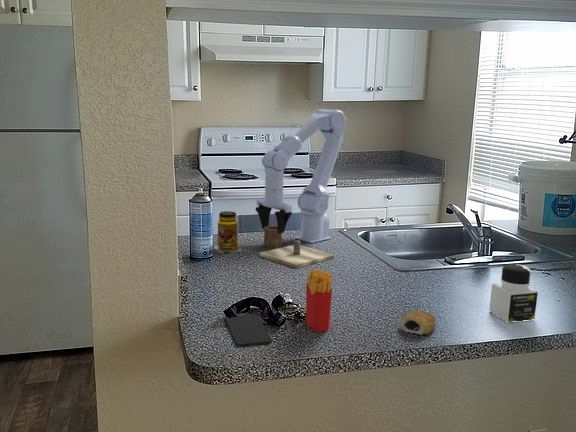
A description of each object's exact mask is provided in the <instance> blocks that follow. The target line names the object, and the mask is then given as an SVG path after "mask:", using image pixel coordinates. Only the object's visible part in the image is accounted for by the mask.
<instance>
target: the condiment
mask: <svg viewBox="0 0 576 432" xmlns="http://www.w3.org/2000/svg"><path fill="white" fill-rule="evenodd" d="M218 217H219V218H218V219H219V220H218V222H217V245H215V246H214V248H213V249H214V250H215V251H217V249H218V248H219V249H218V250H219V251H221V252H229V253H228V254H230V253H237V252H243V251H244V250H242V249H241V248H239V247H238V220H237V213H236V212H235V211H230V210H229V211H220V212H219V215H218Z"/></svg>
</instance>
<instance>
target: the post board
mask: <svg viewBox="0 0 576 432" xmlns="http://www.w3.org/2000/svg"><path fill="white" fill-rule="evenodd" d="M258 255H259V257H262V258H264V259H267V260H271V261H274V262H275V263H276V262H277V263H279V264H283V265H285V266H288V267H291V268H295V269H298V268H299V269H300V268H302V267H306V266H311V265H314V264H318V263H321V262H325V261H328V260H329V261H330V260H333V259H335V255H334V254H333V253H332V254H331V253H328V252H325V251H321V250H317V249H315V248H311V247H308V246H304V245H301V240H299V239H296V240H293V244H292V245H291V244H290V245H287V246H284V247H282V246H281V247H279V248H272V249H269V250H266V251H261V252H259V254H258Z"/></svg>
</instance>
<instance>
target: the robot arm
mask: <svg viewBox="0 0 576 432" xmlns="http://www.w3.org/2000/svg"><path fill="white" fill-rule="evenodd" d="M347 121H348V120H347V118H346V116H345V114H344V111H342V110H340V109H336V110H335V109H324V108H319V109H317V110H316V111H315V112H314V113H313V114H311V117H310V119H309V120H308V121H306V123H305V124H304V125H303V126H302V127H300V129H299V130H298V131H297V132H296V133H295V134H294V135H291V134H289V135H286V136H284V137H283V140H282V141H281V142H280V143H279V144H278V145H275V146H274V148H273V149H272V150H268V151H267V152H264V153H265V154H264V155H263V158H261V164H262V166H263V167H264V172H265V174H264V175H265V177H264V180H265V181H264V183H265V184H264V199H263V198H258V199H256V207H255V211H256V213H257V215H258V217H259V221H260V225H261V229H262V230H264V228H265V227H266V226H270V224H269V223H270V215H271V211H272V209H274V210H277V211H274V215H275V217H276V221H277V222H276V223H277V224H276V226H277V230H278V233H282V234H284V233H285V230H286V227H287V223H288V221H289V219H290V218H291V216H292V213H293V212H292V210H293V209H292V205H289V204H288V203H285V202H283V200H284V175H285V174H284V169H286V168H287V166H288V165H289V164H288V163H289V161H290V160H291V159H292V157H294V156H295V155H296V154H297V153H298V152H299V151H300V150H301V149H302V144H303V143H304V142H305V141H307V140H308V139H309V138H310V137H311V136H313V135H314V134H316V132H317V131H318V132H320V133H321V135H323V137H324V139H325V141H324V144H323V147H322V149H321V153H320V155H319V158H318V161H317V164H316V167H315V170H314V172H313V176H312V178H311V181H310V183H309V184H308V185H306V186H305V187H304V188H303V190H302V193H300V195H299V196H298V198H297V206H298V209H300V213H301V223H300V225H301V226H300V227H301V230H300V232H301V233H300V235H299V236H295V239H296V240H299V241H302V242H303V241H304V242H307V243H310V244H312V243H313V244H314V243H318V242H322V241H323V242H324V241H325V240H326V241H327V240H331V237H330V218H329V215H328V214H327V213H326V212H327V210H328V208H329V199H330V193H329V192H328V190H327V187H328V184H329V181H330V179H331V175H332V173H333V169H334V167H335V164H336V161H337V158H338V155H339V152H340V150H341V146H342V144H343V141H344V132H345V131H344V130H345V127H346V125H347Z"/></svg>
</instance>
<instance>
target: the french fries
mask: <svg viewBox="0 0 576 432" xmlns="http://www.w3.org/2000/svg"><path fill="white" fill-rule="evenodd" d="M333 279H334V278H333V277H332V273H330V272H329V271H323V270H322V269H321V270H320V269H319V268H317V269H315V268H313V269H311V270H310V271H309V273H308V276H307V277H306V280H307V281H306V283H305V286H306V287H305V292H306V293H305V294H306V297H305V307H306V308H305V323H306V325H308V327H309V328H310V329H311V330H313V331H315V332H327V331H329V330H330V323H331V311H332V310H331V309H332V300H333V299H332V297H333V289H332V287H333V286H332V285H333Z"/></svg>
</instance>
